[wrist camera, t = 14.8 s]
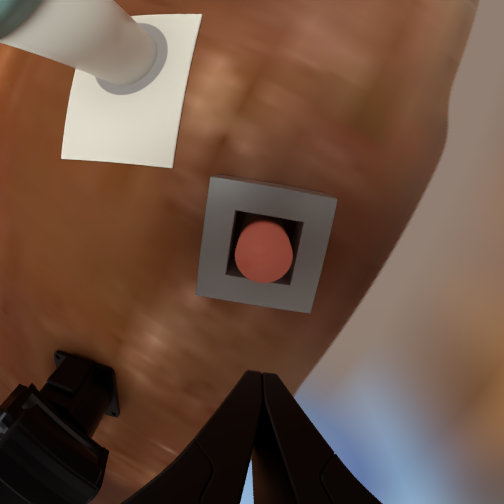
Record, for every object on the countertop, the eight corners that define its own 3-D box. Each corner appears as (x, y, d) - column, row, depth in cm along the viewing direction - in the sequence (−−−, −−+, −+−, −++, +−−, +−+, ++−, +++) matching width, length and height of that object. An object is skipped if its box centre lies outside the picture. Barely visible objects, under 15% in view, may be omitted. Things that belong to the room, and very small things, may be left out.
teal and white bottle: (151, 87, 17) (-2, 12, 4) (95, 87, 17) (-66, 46, 4) (165, 29, 16) (53, -90, 3) (108, 32, 16) (-24, -47, 3)
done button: (282, 263, 21) (286, 287, 17) (236, 255, 21) (231, 277, 17) (291, 218, 20) (297, 233, 16) (244, 210, 20) (239, 223, 16)
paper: (172, 168, 19) (171, 168, 19) (62, 158, 19) (60, 158, 19) (202, 15, 16) (201, 13, 16) (90, 22, 16) (88, 21, 16)
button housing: (304, 293, 21) (310, 313, 19) (204, 276, 21) (195, 294, 18) (326, 193, 19) (337, 199, 17) (218, 174, 19) (210, 176, 16)
